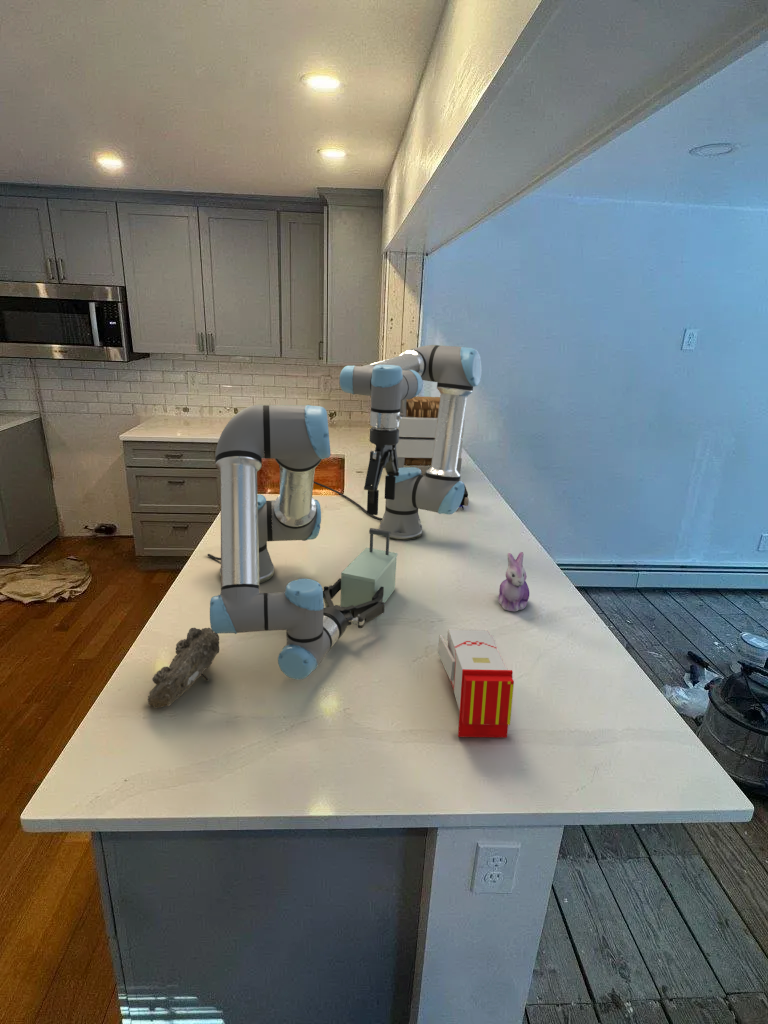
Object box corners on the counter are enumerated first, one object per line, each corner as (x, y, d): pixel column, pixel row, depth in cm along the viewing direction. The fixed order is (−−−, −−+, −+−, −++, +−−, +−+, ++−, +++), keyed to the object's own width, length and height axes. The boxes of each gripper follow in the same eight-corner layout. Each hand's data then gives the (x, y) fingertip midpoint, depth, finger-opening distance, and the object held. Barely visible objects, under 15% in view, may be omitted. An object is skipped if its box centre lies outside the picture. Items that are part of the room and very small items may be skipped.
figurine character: (468, 514, 225) (463, 498, 239) (470, 497, 222) (465, 482, 235) (451, 514, 225) (447, 498, 238) (453, 497, 222) (449, 481, 235)
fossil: (174, 630, 128) (220, 599, 123) (204, 658, 131) (250, 629, 126) (125, 701, 108) (178, 668, 103) (161, 733, 111) (215, 702, 106)
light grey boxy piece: (382, 463, 289) (386, 382, 275) (445, 464, 293) (451, 384, 279) (390, 482, 257) (394, 392, 243) (460, 483, 261) (468, 394, 247)
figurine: (511, 616, 149) (518, 564, 143) (487, 598, 157) (493, 549, 152) (539, 609, 153) (547, 558, 148) (514, 592, 161) (521, 544, 156)
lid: (366, 550, 160) (367, 524, 157) (397, 556, 157) (398, 529, 155) (341, 576, 144) (341, 547, 142) (374, 583, 141) (376, 553, 139)
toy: (488, 613, 130) (523, 677, 101) (484, 667, 133) (517, 744, 104) (435, 612, 130) (455, 676, 101) (432, 666, 133) (451, 743, 103)
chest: (364, 583, 163) (365, 551, 160) (394, 589, 160) (396, 557, 157) (340, 611, 148) (341, 576, 144) (373, 618, 145) (374, 583, 142)
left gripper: (279, 632, 131) (320, 591, 151) (372, 655, 125) (403, 609, 144) (278, 603, 129) (320, 565, 149) (374, 625, 122) (404, 582, 142)
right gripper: (382, 438, 132) (378, 523, 139) (412, 421, 154) (408, 495, 162) (352, 435, 135) (350, 518, 142) (386, 418, 157) (383, 491, 164)
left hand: (361, 587), depth 146 cm, fingers open, 11 cm apart
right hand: (381, 506), depth 152 cm, fingers open, 13 cm apart
